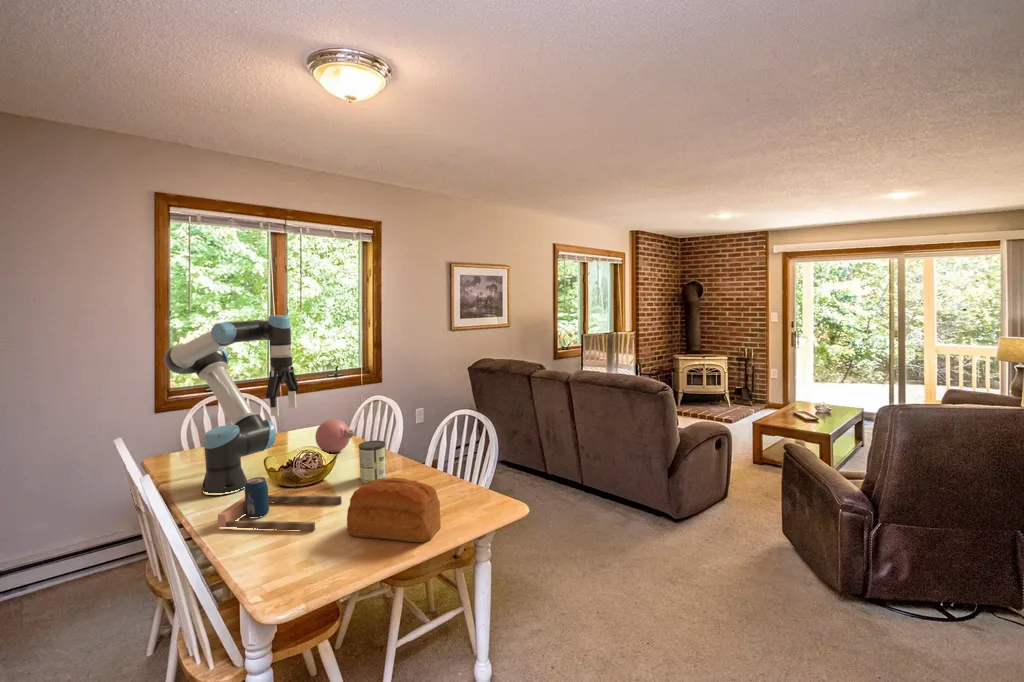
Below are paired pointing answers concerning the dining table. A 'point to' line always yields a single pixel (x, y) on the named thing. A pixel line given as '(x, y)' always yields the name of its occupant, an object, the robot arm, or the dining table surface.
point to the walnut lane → (287, 525)
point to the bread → (394, 510)
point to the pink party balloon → (333, 435)
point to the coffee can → (372, 460)
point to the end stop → (232, 512)
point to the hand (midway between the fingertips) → (284, 411)
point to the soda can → (256, 497)
